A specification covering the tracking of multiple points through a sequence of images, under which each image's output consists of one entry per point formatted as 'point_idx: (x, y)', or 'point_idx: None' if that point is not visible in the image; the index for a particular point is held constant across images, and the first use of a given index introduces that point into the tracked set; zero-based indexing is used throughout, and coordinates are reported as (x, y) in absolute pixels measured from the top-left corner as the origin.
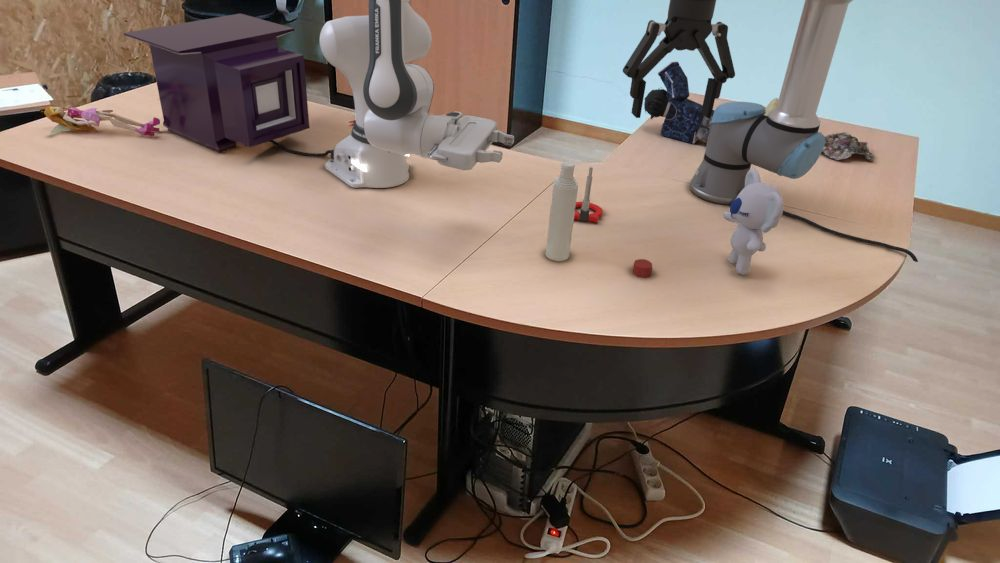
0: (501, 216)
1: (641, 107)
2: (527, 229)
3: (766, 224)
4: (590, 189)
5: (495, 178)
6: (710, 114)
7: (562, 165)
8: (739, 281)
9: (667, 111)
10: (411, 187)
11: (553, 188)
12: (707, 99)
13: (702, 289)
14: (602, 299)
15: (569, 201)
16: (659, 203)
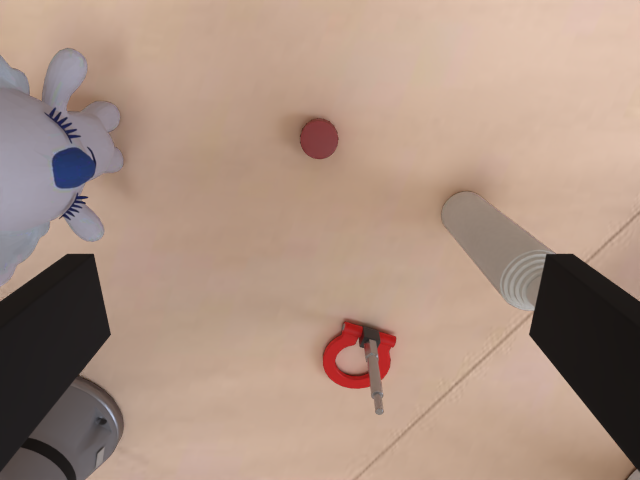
0: (514, 353)
1: (589, 284)
2: (484, 307)
3: (7, 78)
4: (370, 372)
5: (475, 475)
6: (61, 263)
7: None
8: (122, 87)
9: None
10: None
11: None
12: (39, 357)
13: (212, 61)
14: (435, 40)
15: (517, 237)
16: (199, 384)
